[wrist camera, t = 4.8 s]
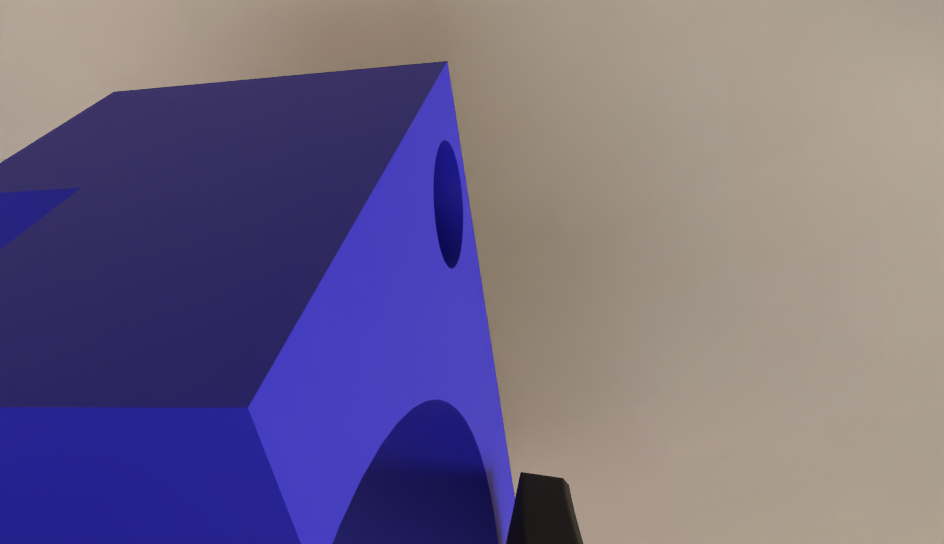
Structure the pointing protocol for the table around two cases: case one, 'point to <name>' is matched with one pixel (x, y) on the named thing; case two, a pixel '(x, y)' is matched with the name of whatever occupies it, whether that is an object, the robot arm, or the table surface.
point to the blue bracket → (249, 321)
